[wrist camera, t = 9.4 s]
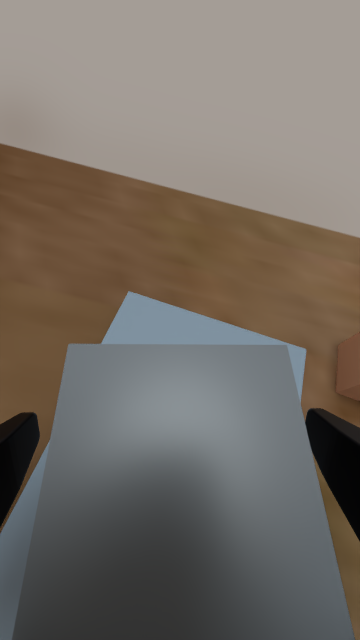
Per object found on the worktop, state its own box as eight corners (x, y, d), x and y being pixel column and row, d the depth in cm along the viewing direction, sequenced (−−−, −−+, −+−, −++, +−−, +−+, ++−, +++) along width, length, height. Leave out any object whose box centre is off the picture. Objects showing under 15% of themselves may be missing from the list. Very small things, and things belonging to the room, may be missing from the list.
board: (245, 784, 11) (255, 820, 10) (-45, 639, 12) (-65, 657, 11) (298, 354, 20) (306, 349, 19) (130, 299, 21) (128, 291, 20)
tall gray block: (231, 528, 14) (361, 665, 5) (108, 534, 13) (0, 696, 4) (219, 403, 17) (287, 344, 8) (119, 404, 16) (68, 343, 7)
